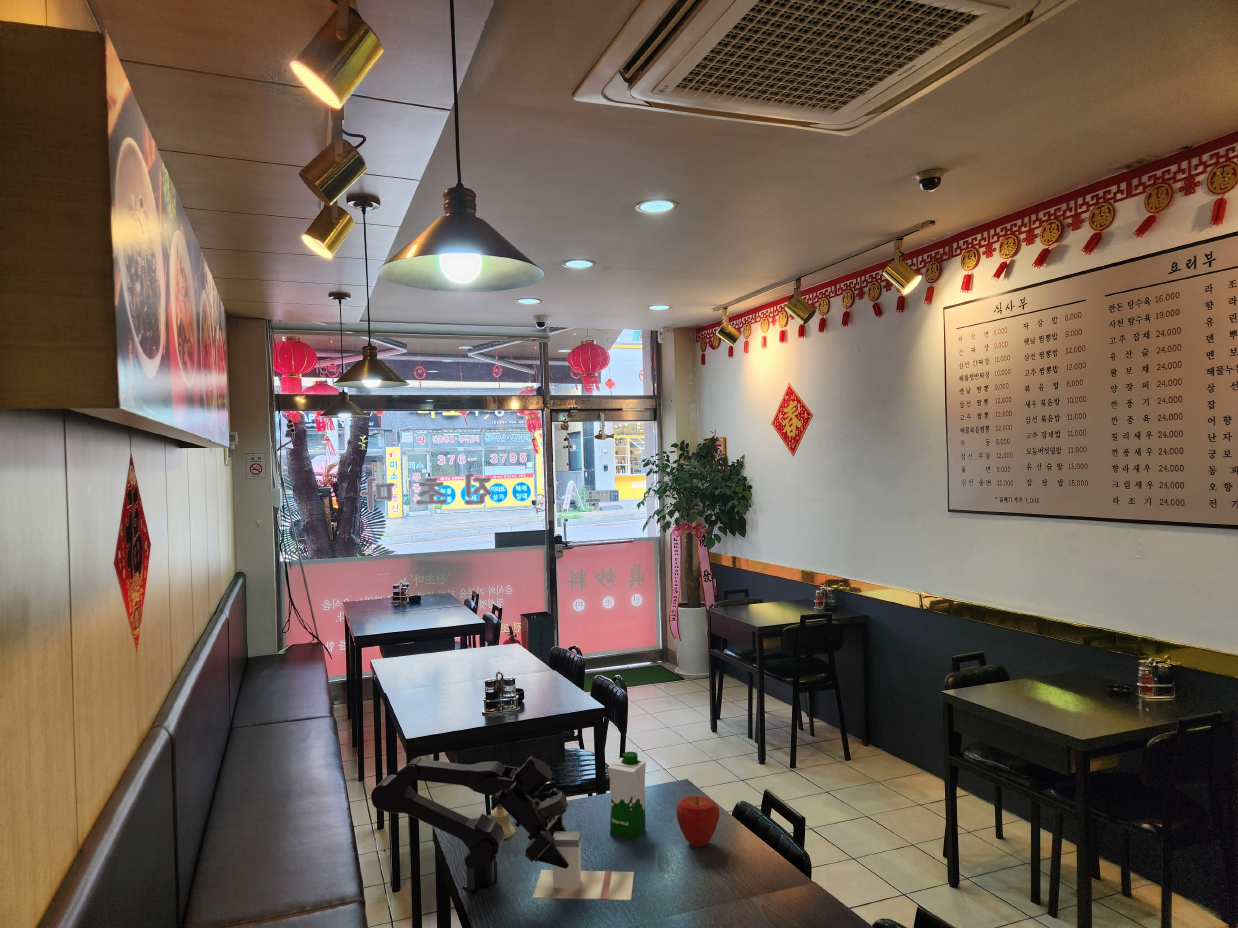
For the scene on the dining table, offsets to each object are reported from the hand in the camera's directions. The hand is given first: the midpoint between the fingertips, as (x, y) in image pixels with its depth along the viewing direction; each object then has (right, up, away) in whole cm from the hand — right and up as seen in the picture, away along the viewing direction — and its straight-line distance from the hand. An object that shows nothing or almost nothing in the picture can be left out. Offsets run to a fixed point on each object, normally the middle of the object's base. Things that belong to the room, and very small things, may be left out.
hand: (570, 856), depth 177 cm
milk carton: (+13, -8, +27) cm, 31 cm away
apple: (+31, -7, +20) cm, 38 cm away
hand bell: (-21, -8, +28) cm, 36 cm away
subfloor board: (+3, -7, 0) cm, 8 cm away
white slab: (-1, -6, 0) cm, 6 cm away
